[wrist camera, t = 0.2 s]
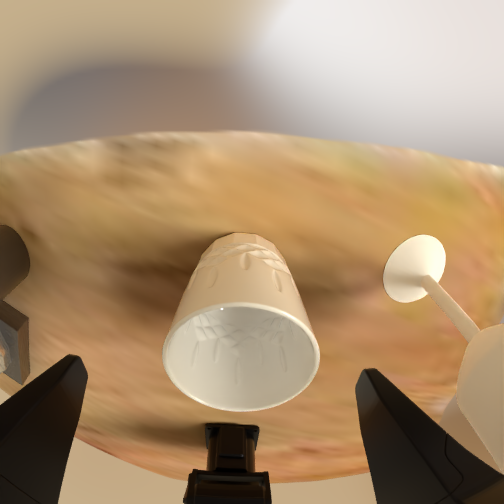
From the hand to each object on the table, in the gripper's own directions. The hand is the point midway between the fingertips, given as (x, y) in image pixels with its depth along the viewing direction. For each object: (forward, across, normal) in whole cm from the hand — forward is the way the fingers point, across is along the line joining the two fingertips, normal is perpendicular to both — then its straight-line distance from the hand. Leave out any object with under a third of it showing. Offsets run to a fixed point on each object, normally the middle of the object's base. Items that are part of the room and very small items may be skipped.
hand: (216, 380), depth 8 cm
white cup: (+15, -1, +4) cm, 15 cm away
